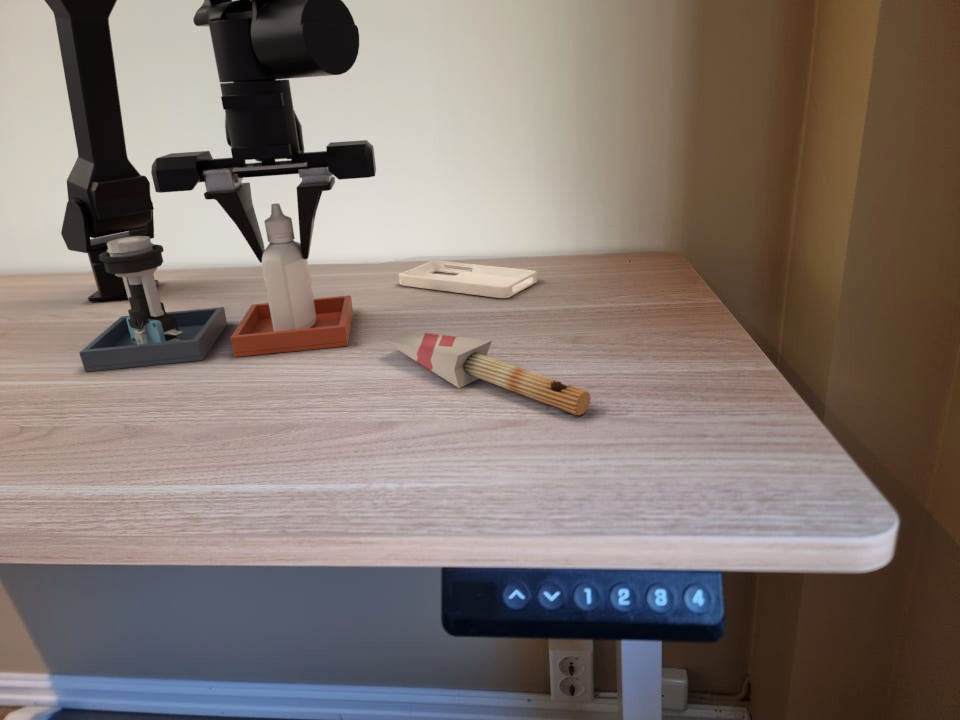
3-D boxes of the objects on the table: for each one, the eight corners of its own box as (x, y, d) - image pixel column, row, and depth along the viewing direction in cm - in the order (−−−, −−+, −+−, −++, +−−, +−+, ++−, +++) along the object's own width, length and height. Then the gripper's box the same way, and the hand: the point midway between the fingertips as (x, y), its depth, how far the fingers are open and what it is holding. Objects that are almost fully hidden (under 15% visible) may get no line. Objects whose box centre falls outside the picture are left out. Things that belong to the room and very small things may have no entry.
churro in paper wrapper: (411, 313, 60) (599, 377, 47) (413, 342, 61) (597, 412, 49) (376, 325, 58) (565, 396, 45) (379, 355, 59) (564, 432, 46)
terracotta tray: (254, 321, 71) (251, 304, 70) (353, 312, 72) (350, 295, 71) (234, 357, 62) (230, 337, 61) (347, 346, 63) (344, 326, 62)
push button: (205, 339, 66) (181, 236, 62) (156, 358, 61) (128, 249, 58) (161, 330, 69) (137, 232, 65) (113, 348, 65) (83, 244, 61)
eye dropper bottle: (333, 322, 68) (314, 200, 63) (286, 340, 64) (263, 211, 59) (304, 315, 70) (285, 197, 66) (258, 332, 66) (234, 207, 62)
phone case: (397, 285, 81) (506, 299, 73) (396, 274, 80) (506, 287, 72) (434, 270, 86) (539, 281, 79) (433, 259, 86) (538, 270, 78)
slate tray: (126, 333, 70) (121, 316, 69) (227, 324, 71) (223, 306, 70) (84, 372, 61) (78, 352, 60) (202, 360, 62) (198, 340, 61)
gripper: (367, 76, 67) (384, 234, 73) (170, 87, 65) (204, 249, 71) (363, 74, 56) (384, 259, 62) (129, 88, 55) (173, 277, 61)
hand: (285, 259), depth 64 cm, fingers closed on eye dropper bottle, 4 cm apart
